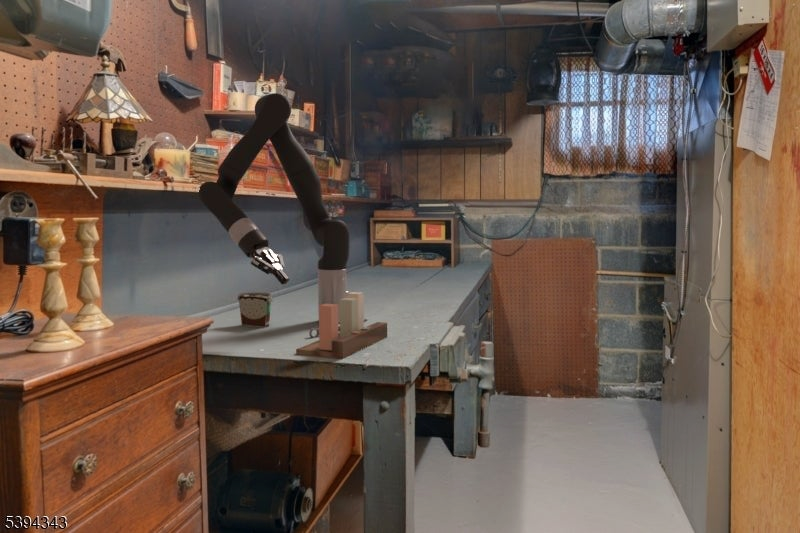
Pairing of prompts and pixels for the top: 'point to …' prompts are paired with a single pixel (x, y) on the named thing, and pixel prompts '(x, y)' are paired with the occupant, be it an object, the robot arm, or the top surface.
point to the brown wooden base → (348, 342)
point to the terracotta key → (328, 325)
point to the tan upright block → (359, 307)
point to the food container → (255, 308)
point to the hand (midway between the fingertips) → (286, 282)
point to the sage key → (348, 316)
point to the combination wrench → (318, 330)
